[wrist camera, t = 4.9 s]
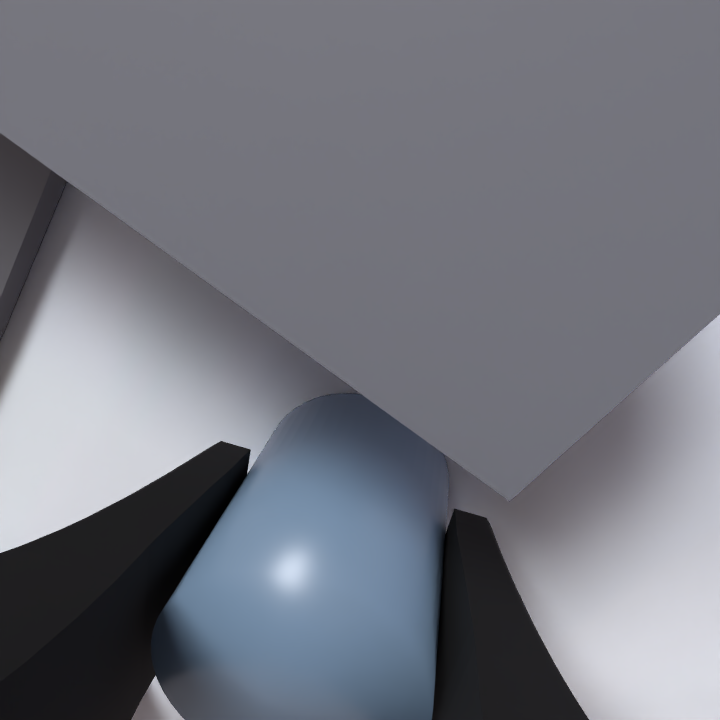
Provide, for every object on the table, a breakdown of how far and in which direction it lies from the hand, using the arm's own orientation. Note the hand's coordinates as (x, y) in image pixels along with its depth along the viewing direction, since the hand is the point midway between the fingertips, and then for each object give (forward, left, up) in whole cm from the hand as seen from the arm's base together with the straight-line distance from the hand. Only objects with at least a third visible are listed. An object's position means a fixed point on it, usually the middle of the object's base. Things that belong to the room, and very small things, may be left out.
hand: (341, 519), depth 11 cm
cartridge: (0, 0, -1) cm, 1 cm away
